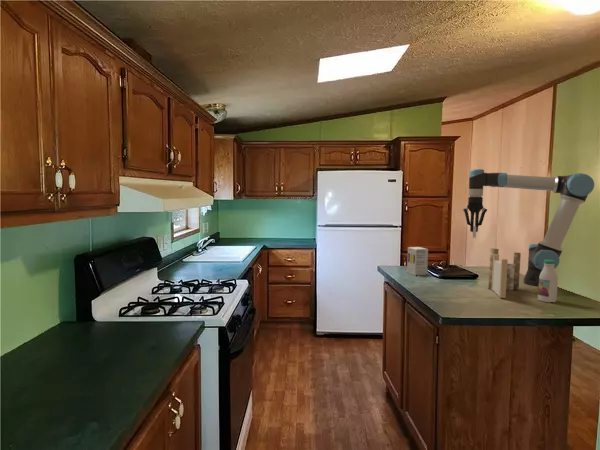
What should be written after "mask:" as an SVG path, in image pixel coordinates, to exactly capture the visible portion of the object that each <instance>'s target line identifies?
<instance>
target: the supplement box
mask: <svg viewBox="0 0 600 450" xmlns="http://www.w3.org/2000/svg"><path fill="white" fill-rule="evenodd" d="M428 260H429V248H425V247H421V246H413V247H412V246H409V247H407V261H406V262H407V263H406V264H407V265H406V273H407V274H409V275H411V276H415V277H417V276H427V275H428V264H429V263H428V262H429V261H428ZM426 274H427V275H426ZM416 275H417V276H416Z"/></svg>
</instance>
